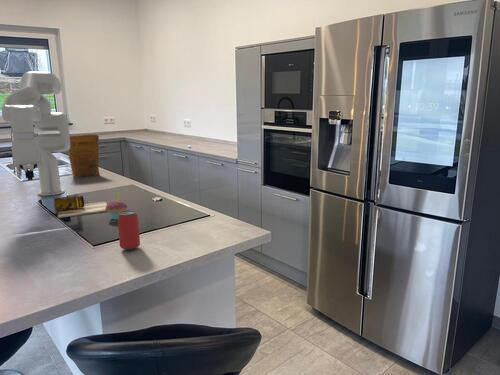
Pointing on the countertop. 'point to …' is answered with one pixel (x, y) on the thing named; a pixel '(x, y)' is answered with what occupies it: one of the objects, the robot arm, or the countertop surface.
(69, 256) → the countertop surface
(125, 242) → the beer can
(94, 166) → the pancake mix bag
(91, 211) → the cutting board
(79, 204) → the condiment
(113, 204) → the cupcake
